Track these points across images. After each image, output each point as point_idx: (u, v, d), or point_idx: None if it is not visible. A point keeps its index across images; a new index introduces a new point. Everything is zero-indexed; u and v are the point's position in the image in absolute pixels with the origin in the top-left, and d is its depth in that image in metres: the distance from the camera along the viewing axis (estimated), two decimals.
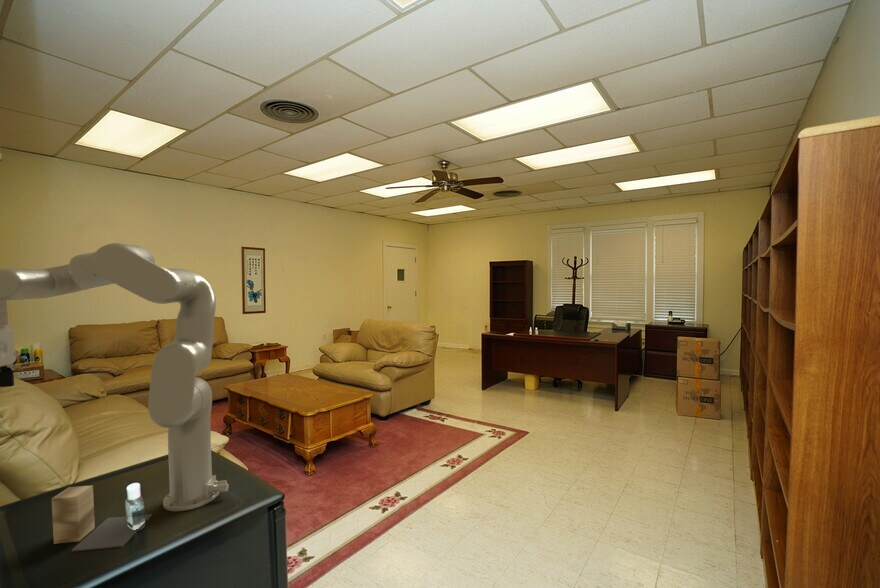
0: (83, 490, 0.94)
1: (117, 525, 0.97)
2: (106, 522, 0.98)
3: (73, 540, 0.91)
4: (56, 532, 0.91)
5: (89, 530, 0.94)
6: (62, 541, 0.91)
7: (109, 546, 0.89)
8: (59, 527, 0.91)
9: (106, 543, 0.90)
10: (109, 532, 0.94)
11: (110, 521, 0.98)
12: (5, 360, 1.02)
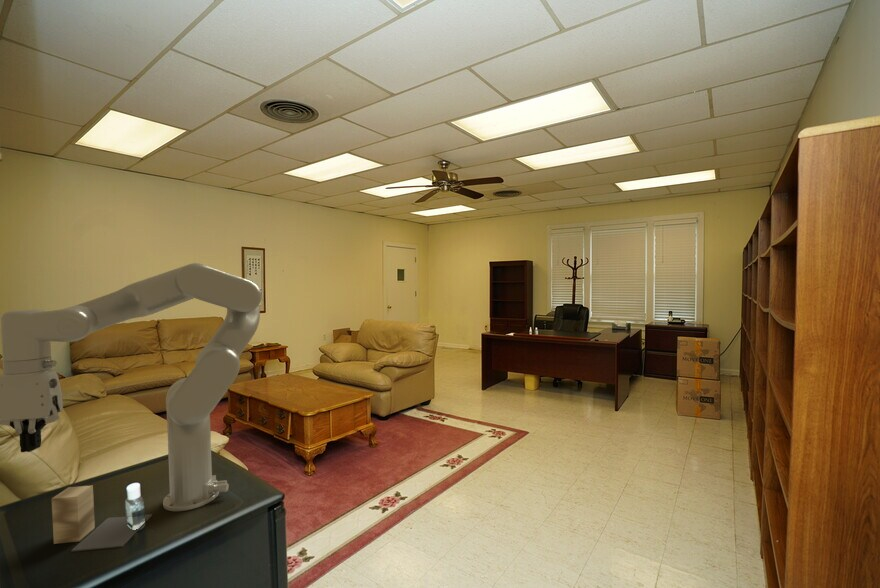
0: (83, 490, 0.94)
1: (117, 525, 0.97)
2: (106, 522, 0.98)
3: (73, 540, 0.91)
4: (56, 532, 0.91)
5: (89, 530, 0.94)
6: (62, 541, 0.91)
7: (109, 546, 0.89)
8: (59, 527, 0.91)
9: (106, 543, 0.90)
10: (109, 532, 0.94)
11: (110, 521, 0.98)
12: None
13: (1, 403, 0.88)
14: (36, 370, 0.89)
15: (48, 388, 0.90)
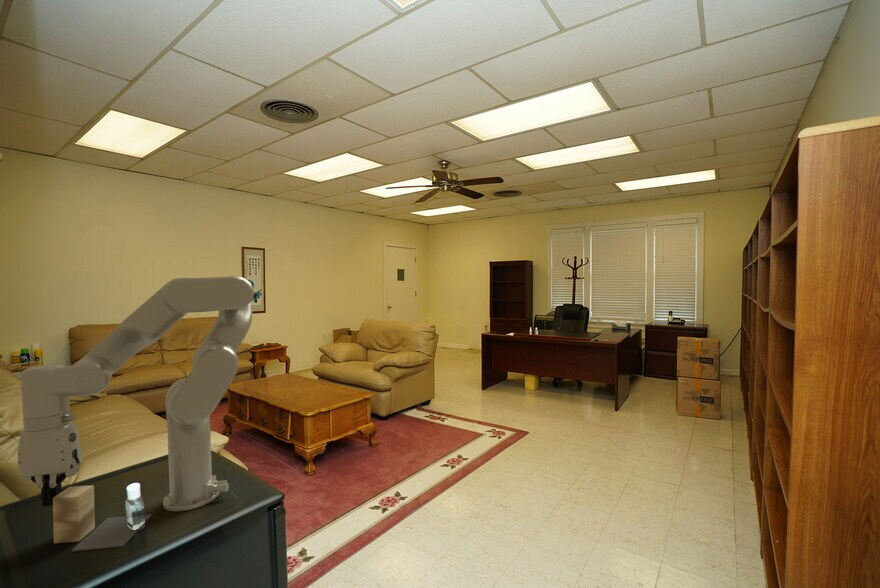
0: (84, 490, 0.94)
1: (117, 525, 0.97)
2: (106, 522, 0.98)
3: (73, 540, 0.91)
4: (56, 532, 0.91)
5: (89, 530, 0.94)
6: (62, 541, 0.91)
7: (109, 546, 0.89)
8: (59, 527, 0.91)
9: (106, 543, 0.90)
10: (109, 532, 0.94)
11: (110, 521, 0.98)
12: None
13: (22, 459, 0.89)
14: (56, 426, 0.90)
15: (68, 443, 0.91)
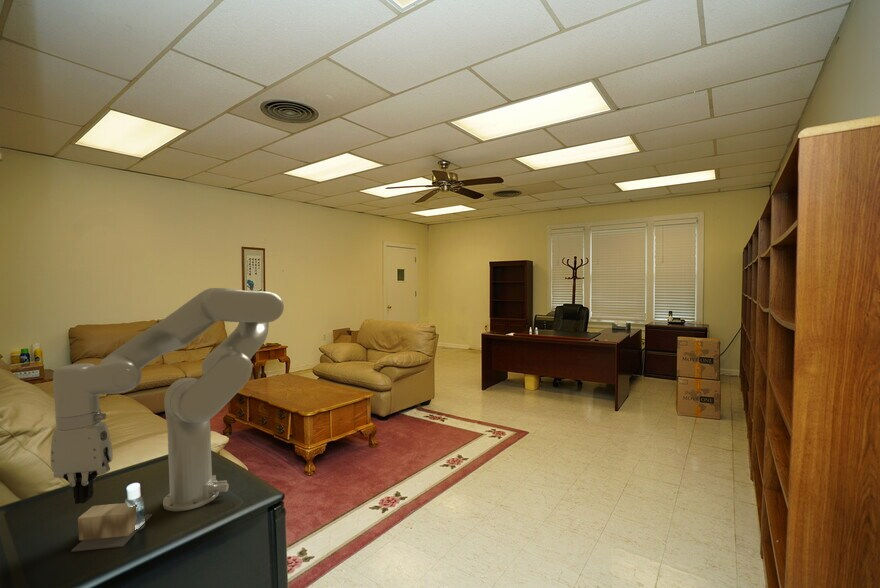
0: None
1: None
2: None
3: (80, 535, 0.91)
4: (90, 519, 0.91)
5: None
6: (79, 525, 0.91)
7: (109, 546, 0.89)
8: (95, 522, 0.92)
9: (106, 543, 0.90)
10: None
11: None
12: None
13: (55, 457, 0.90)
14: (88, 424, 0.91)
15: (99, 441, 0.92)
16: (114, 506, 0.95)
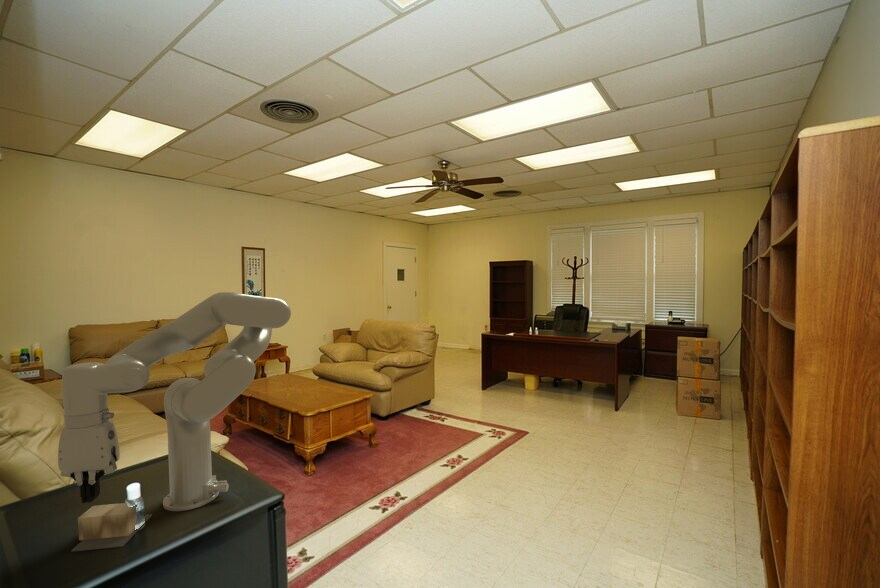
0: None
1: None
2: None
3: (80, 535, 0.91)
4: (90, 519, 0.91)
5: None
6: (79, 525, 0.91)
7: (109, 546, 0.89)
8: (95, 522, 0.92)
9: (106, 543, 0.90)
10: None
11: None
12: None
13: (63, 456, 0.90)
14: (96, 423, 0.91)
15: (107, 440, 0.92)
16: (114, 506, 0.95)
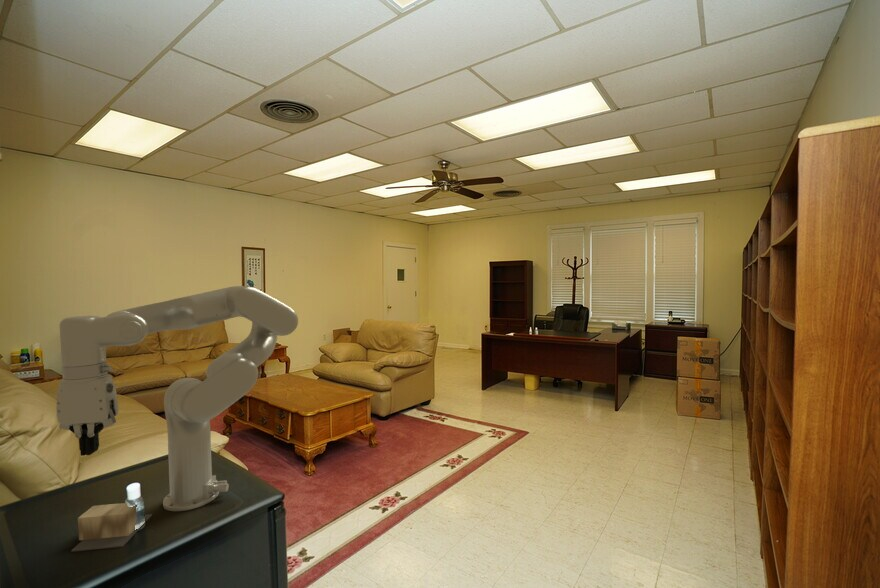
0: None
1: None
2: None
3: (80, 535, 0.91)
4: (90, 519, 0.91)
5: None
6: (79, 525, 0.91)
7: (109, 546, 0.89)
8: (95, 522, 0.92)
9: (106, 543, 0.90)
10: None
11: None
12: None
13: (61, 408, 0.90)
14: (94, 375, 0.91)
15: (106, 393, 0.92)
16: (114, 506, 0.95)
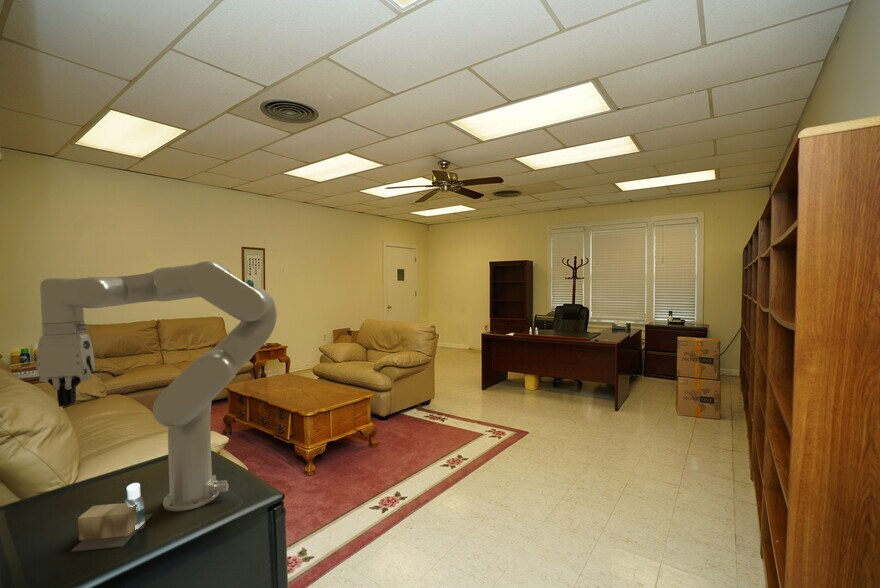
0: None
1: None
2: None
3: (80, 535, 0.91)
4: (90, 519, 0.91)
5: None
6: (79, 525, 0.91)
7: (109, 546, 0.89)
8: (95, 522, 0.92)
9: (106, 543, 0.90)
10: None
11: None
12: None
13: (41, 362, 0.98)
14: (72, 332, 0.99)
15: (82, 349, 1.00)
16: (114, 506, 0.95)
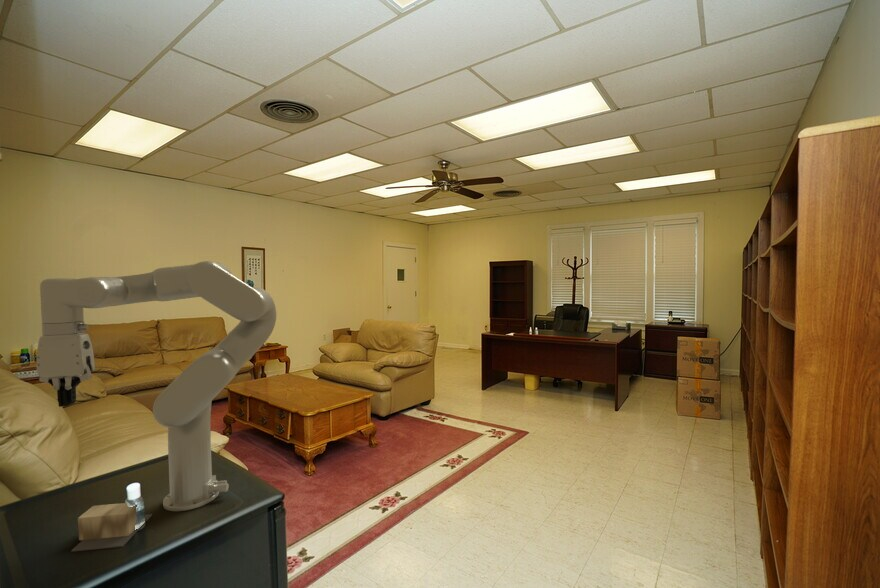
0: None
1: None
2: None
3: (80, 535, 0.91)
4: (90, 519, 0.91)
5: None
6: (79, 525, 0.91)
7: (109, 546, 0.89)
8: (95, 522, 0.92)
9: (106, 543, 0.90)
10: None
11: None
12: None
13: (41, 362, 0.98)
14: (72, 332, 0.99)
15: (82, 349, 1.00)
16: (114, 506, 0.95)
